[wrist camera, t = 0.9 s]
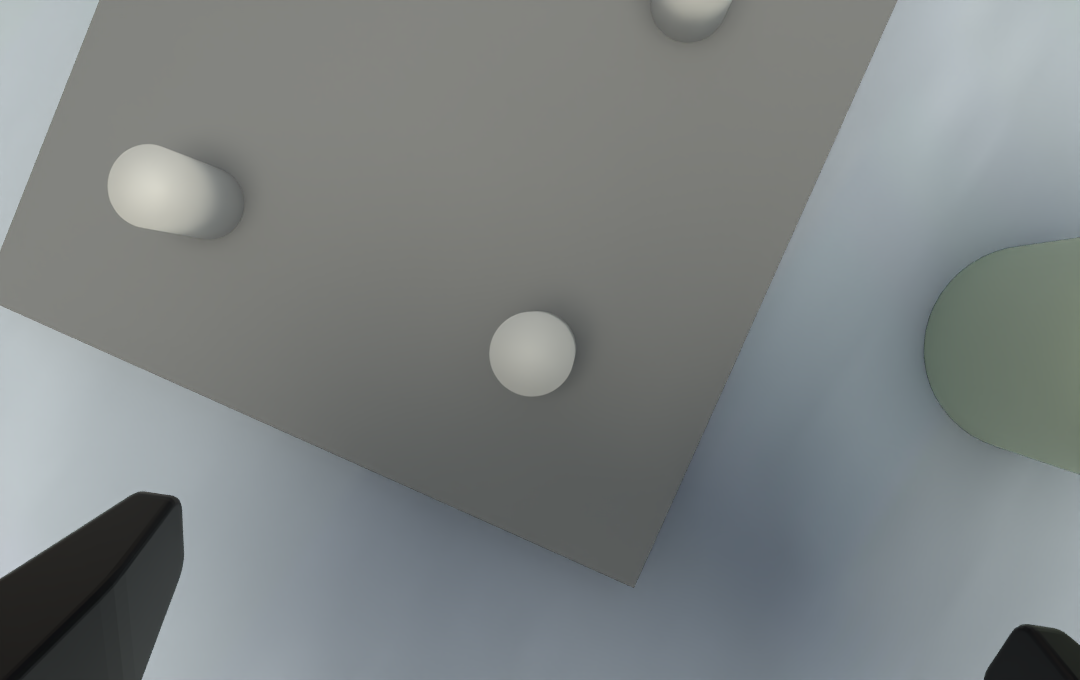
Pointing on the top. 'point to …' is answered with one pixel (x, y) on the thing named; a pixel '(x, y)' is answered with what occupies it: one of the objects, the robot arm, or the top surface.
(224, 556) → the top surface
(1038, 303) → the post
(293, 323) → the peg board
